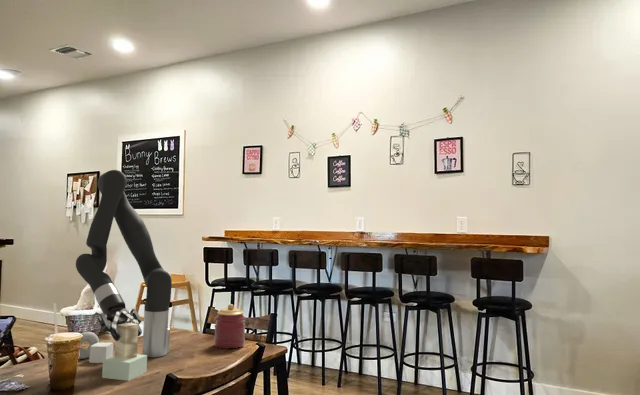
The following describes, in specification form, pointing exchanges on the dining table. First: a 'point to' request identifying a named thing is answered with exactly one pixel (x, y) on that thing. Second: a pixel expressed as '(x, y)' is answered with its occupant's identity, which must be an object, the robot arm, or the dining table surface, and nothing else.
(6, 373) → the dining table surface
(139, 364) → the sage box
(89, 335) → the donut
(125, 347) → the birch block
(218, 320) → the canister
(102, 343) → the white cube
